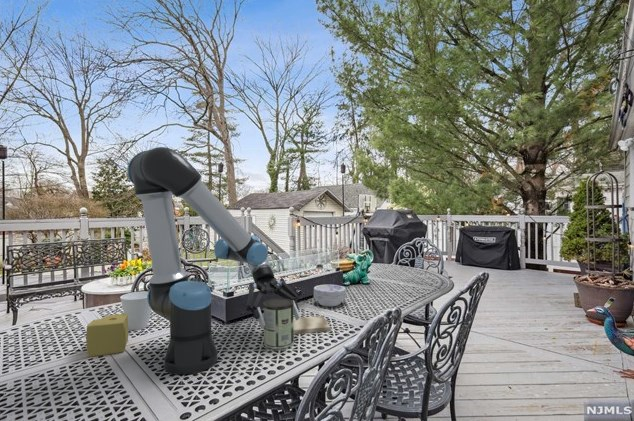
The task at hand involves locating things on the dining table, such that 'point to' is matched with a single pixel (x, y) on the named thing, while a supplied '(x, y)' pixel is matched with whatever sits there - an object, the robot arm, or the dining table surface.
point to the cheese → (107, 335)
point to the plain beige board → (310, 325)
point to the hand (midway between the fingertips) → (281, 322)
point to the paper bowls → (329, 294)
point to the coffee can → (278, 323)
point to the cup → (136, 309)
